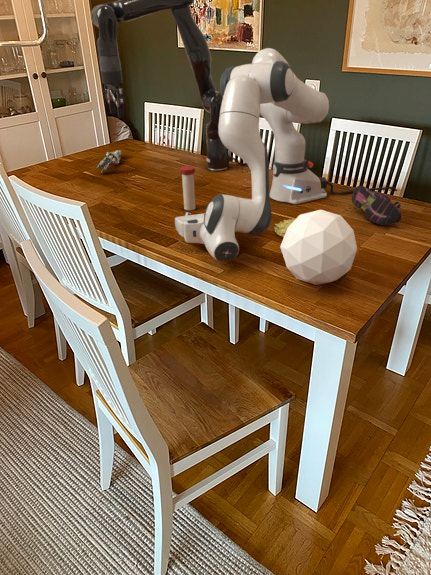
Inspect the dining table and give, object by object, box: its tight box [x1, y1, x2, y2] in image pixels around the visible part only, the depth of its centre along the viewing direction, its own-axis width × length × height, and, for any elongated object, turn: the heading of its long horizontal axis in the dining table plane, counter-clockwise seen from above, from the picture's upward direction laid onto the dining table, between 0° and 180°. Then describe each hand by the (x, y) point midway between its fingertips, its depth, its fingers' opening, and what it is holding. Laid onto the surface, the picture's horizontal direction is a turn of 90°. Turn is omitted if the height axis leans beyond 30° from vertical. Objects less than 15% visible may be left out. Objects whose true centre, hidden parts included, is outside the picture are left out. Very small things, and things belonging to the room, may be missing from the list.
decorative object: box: [273, 218, 296, 238], centre depth 145 cm, size 21×2×20 cm
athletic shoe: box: [351, 185, 403, 226], centre depth 153 cm, size 11×22×12 cm
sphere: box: [279, 209, 358, 286], centre depth 117 cm, size 19×20×20 cm
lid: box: [180, 165, 196, 175], centre depth 159 cm, size 5×5×2 cm
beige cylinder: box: [181, 173, 196, 211], centre depth 163 cm, size 4×4×15 cm
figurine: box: [96, 150, 123, 174], centre depth 213 cm, size 7×8×30 cm
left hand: (117, 115), depth 171 cm, fingers open, 8 cm apart
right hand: (201, 212), depth 146 cm, fingers open, 8 cm apart
